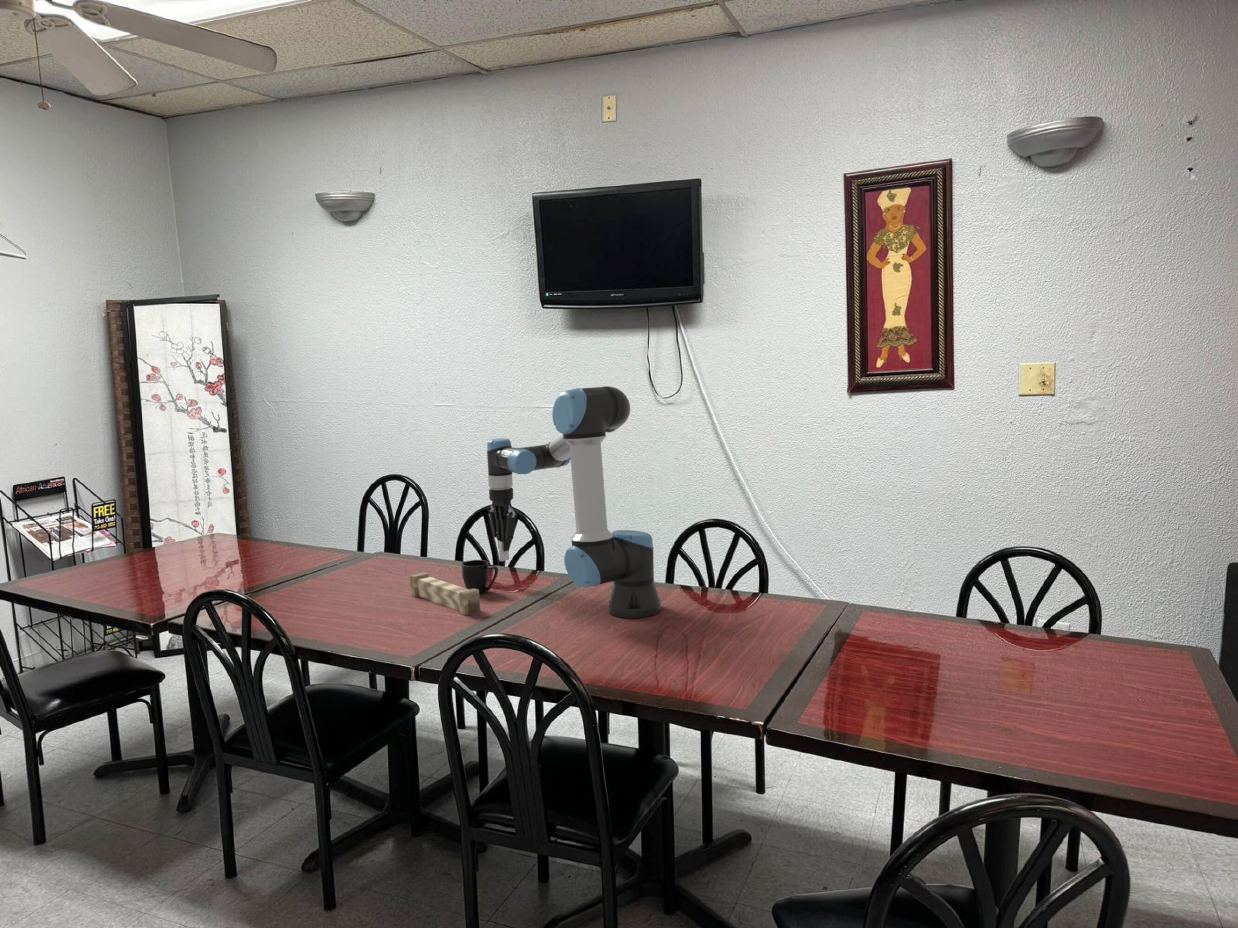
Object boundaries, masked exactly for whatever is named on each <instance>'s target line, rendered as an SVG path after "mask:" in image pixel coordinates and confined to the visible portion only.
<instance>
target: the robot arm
mask: <svg viewBox="0 0 1238 928" xmlns="http://www.w3.org/2000/svg"><path fill="white" fill-rule="evenodd" d="M630 413H631V404H630V401H629V398H628V397H627V395H626V394H625V393H624V392H623V391H622V390H621V389H619V388H617V387H613V386H610V385H609V386H606V385H605V386H597V387H596V386H595V387H582V388H578V387H577V388H571V389H568V390H567V389H566V390H564V391H562V392H561V393H559V394H558V395H557V398H556V399H555V400H554V402H553V407H552V413H551V414H552V416H551V417H552V423H553V426H555V429H556V431H557V432H558V433H560V434H558V435H557V436H556V437H555V438H553V439H552V440H550V441H549V442H547V443H546V444H539V445H533V446H532V445H531V446H525V447H523V446H522V447H512V442H511V440H510V439H509V438H506V437H505V438H503V437H502V438H501V437H500V438H491V439H489V440H488V441H487V442H486V443H487V444H486V445H487V446H486V458H487V471H488V472H487V473H488V475H487V476H488V481H487V482H488V487H489V489H488V493H489V496H488V497H489V501H491V506H488V507H487V508H486V510H487V512H488V515H489V520H490V526H491V530H492V536H493V538H496V540H497V546H498V555H499V556H498V558H499V561H500V562H507V561H509V560H510V554H509V552H510V551H509V550H510V541H511V540H513V539H514V535H515V525H516V519H517V515H518V511H516V510H513V506H512V502H511V501H512V500H513V499H514V488H513V486H514V485H513V474H517V475H529V474H531V473H532V472H535V471H540V470H547V469H554V468H561V467H565V466H568V465H569V463H570V467H571V468H570V469H571V470H570V472H571V479H572V480H571V482H572V492H573V494H572V495H573V506H574V516H575V533H574V534H573V536H572V537H571V546H570V547H569V548H568V549H566V550H565V553H564V557H563V560H564V561H563V562H564V567H565V570H566V572H567V575H568V577H569V578H570V579H571V580H572V582H573V583H574V584H575V585H577V586H578V587H580V588H592V587H597V586H599V585H602V584H603V585H604V584H607V583H610V582H613V586H612V589H611V592H610V599H609V600H608V602H607V605H608V606H607V607H608V613H609V614H611V615H612V616H614V617H619V618H623V619H624V618H626V619H639V618H648V617H652V616H655V615H657V614H659V612H661V611H662V607H661V605H662V604H661V603H662V602H661V600H660V598H659V594H658V591H657V588H656V585H655V571H654V565H655V563H654V549H655V548H654V544H653V536H652V535H651V534H650V533H648V532H645V531H640V530H628V529H624V530H623V529H621V530H620V529H618V530H617V529H616V530H614V531H612V532H611V531H610V530H609V529H608V521H607V520H608V519H607V509H606V508H607V507H606V505H607V504H606V495H605V494H606V493H605V479H604V467H603V456H602V455H603V453H602V442H603V441H604V439H606V436H607V433H613V432H615V431H616V430H617V429H619V428H620V427H622V426H623V425H624V424H625V423H626V422H627V421H628V418H629V416H630V415H631V414H630Z"/></svg>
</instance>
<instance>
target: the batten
mask: <svg viewBox="0 0 1238 928" xmlns="http://www.w3.org/2000/svg"><path fill="white" fill-rule="evenodd" d="M409 581H410V596H412V597H414V598H417V597H420V598H423V599H426V600H428V601H431V602H433V603H436V604H439V605H441V606H445V607H447V608H450V609H454V610H456V611H459V612H460V615H462V616H467V615H471V614H474V613H479V612H481V604H480V603H481V602H480V595H479V590H478V589H470V590H469V589H466V587H462V586H459V585H456V584H453V583H450V582H447V581H444V580H441V579H438V578H435V577H432V576H429V573H428V572H425V571H424V572H419V573H415V574H412V575H409Z"/></svg>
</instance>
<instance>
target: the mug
mask: <svg viewBox="0 0 1238 928" xmlns="http://www.w3.org/2000/svg"><path fill="white" fill-rule="evenodd" d="M498 568H499V567H498V566H496V565H490V566H489V561H487V560H483V559H472V560H467V561H464V562H462V563H461V574H462V580H463V584H464V586H465V587H464V588H466V589H469V590H470V589H478V590H479V596H480V595H482V594H483V595H484V594H485V593H488V592H489V591H490V590H491V589H492V587H493V585H494V584H495V583H494V582H495V581H496V578H497V576H498V575H499V574H498V573H499V569H498ZM490 569H493V570H494V574H493V577H492V579H491V581H490V583H489V585H488V581H489V570H490Z"/></svg>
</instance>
